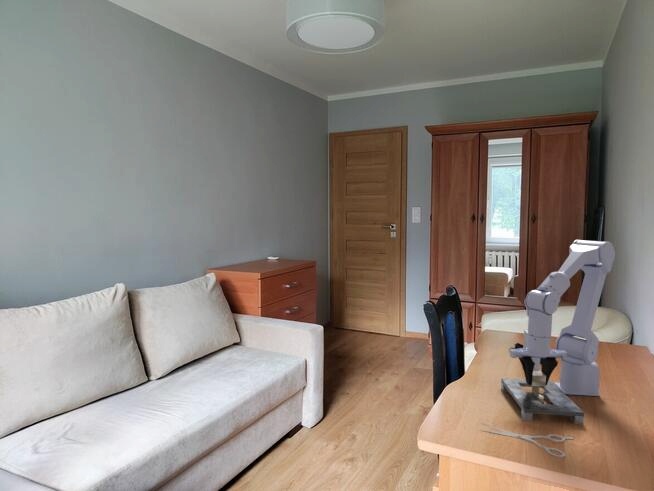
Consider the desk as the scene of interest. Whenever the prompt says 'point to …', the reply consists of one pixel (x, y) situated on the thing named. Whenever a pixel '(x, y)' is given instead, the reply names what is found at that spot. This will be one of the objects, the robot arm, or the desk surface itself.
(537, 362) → the skincare box
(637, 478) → the desk surface
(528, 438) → the scissors
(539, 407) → the keyhole plate
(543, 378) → the key peg
